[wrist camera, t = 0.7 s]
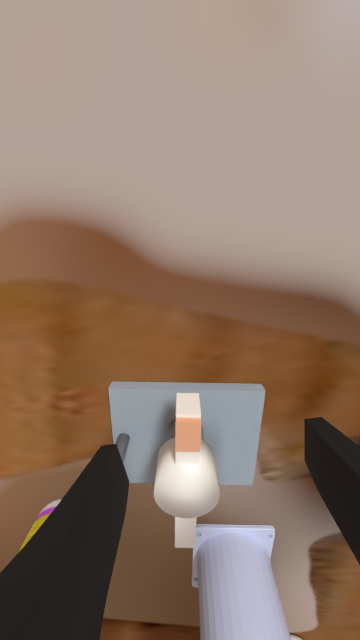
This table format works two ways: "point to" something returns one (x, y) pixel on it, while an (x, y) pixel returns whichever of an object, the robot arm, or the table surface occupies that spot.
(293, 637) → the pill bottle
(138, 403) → the board
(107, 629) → the table surface
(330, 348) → the table surface
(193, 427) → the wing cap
